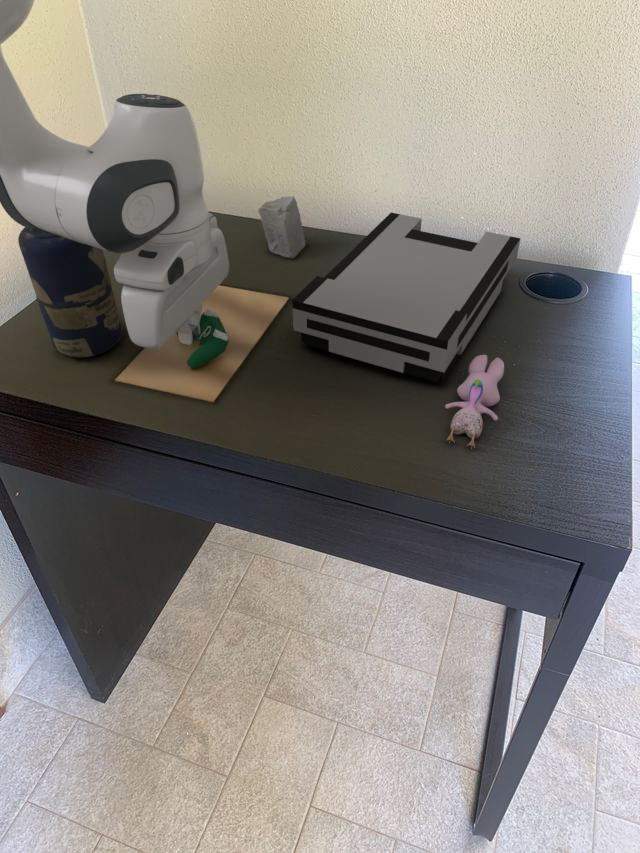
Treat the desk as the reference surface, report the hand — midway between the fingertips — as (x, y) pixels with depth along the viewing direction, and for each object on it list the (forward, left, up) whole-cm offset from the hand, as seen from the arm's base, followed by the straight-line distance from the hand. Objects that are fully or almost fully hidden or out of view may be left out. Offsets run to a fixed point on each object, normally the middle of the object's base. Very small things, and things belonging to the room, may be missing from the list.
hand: (190, 338), depth 90 cm
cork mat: (+3, +4, -3) cm, 6 cm away
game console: (+32, -2, -3) cm, 32 cm away
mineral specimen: (+22, +25, -3) cm, 33 cm away
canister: (-12, +9, -3) cm, 16 cm away
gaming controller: (+2, +1, -3) cm, 3 cm away
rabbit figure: (+29, -24, -3) cm, 38 cm away
